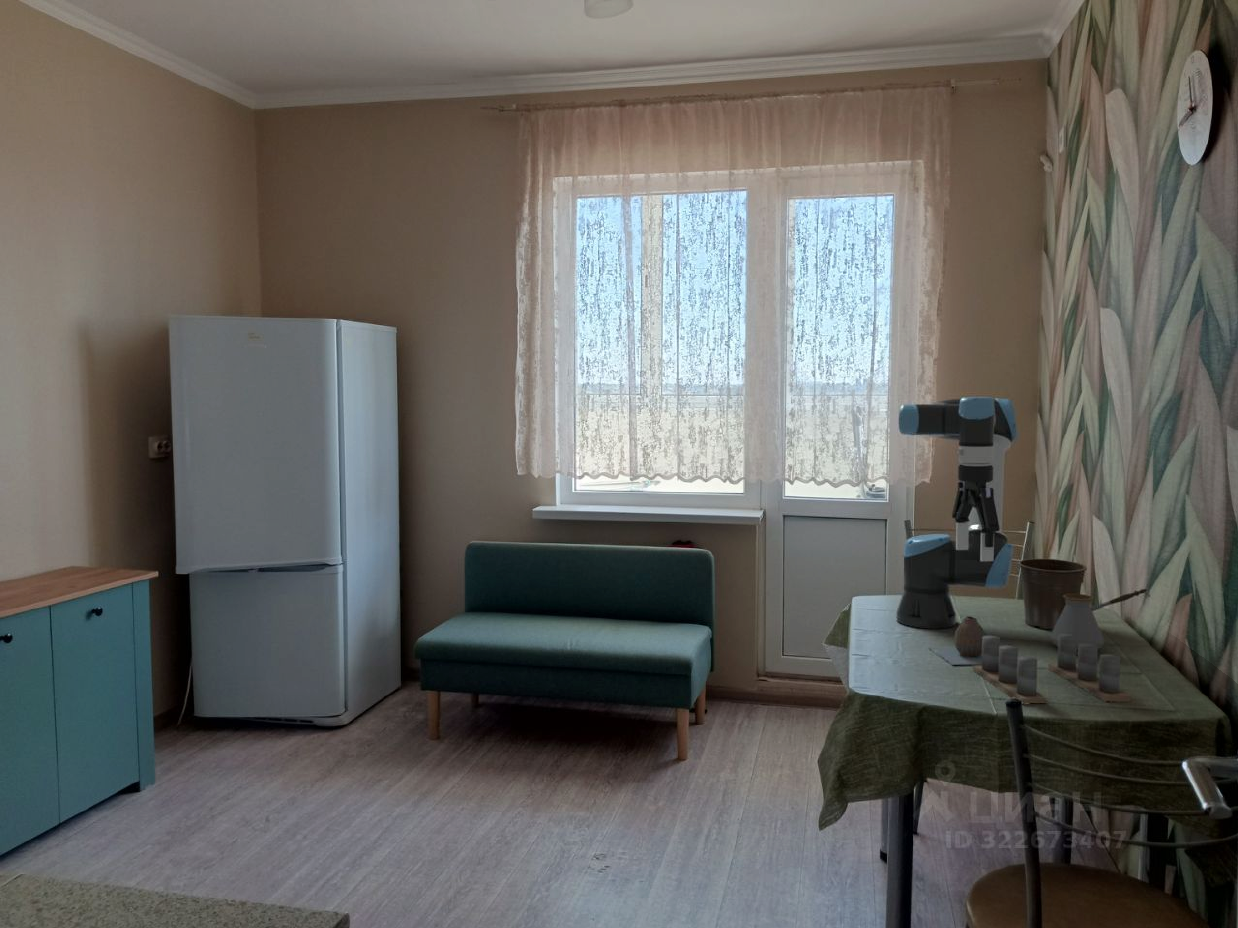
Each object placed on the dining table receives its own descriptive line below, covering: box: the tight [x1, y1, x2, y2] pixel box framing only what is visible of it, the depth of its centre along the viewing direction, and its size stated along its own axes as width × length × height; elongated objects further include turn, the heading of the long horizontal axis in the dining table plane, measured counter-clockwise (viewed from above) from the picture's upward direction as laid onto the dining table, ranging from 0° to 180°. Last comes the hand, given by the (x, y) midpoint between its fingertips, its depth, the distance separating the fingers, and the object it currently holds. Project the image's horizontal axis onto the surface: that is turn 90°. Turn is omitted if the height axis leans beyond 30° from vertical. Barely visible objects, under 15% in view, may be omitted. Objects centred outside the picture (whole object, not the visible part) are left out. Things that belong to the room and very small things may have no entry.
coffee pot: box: [1049, 588, 1151, 653], centre depth 219 cm, size 21×12×15 cm, turn 81°
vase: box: [953, 615, 986, 657], centre depth 216 cm, size 7×7×9 cm
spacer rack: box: [972, 634, 1131, 705], centre depth 194 cm, size 22×22×8 cm
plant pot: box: [1018, 558, 1088, 631], centre depth 243 cm, size 16×16×16 cm
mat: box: [928, 645, 982, 666], centre depth 216 cm, size 14×14×1 cm
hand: (974, 555), depth 216 cm, fingers open, 13 cm apart
